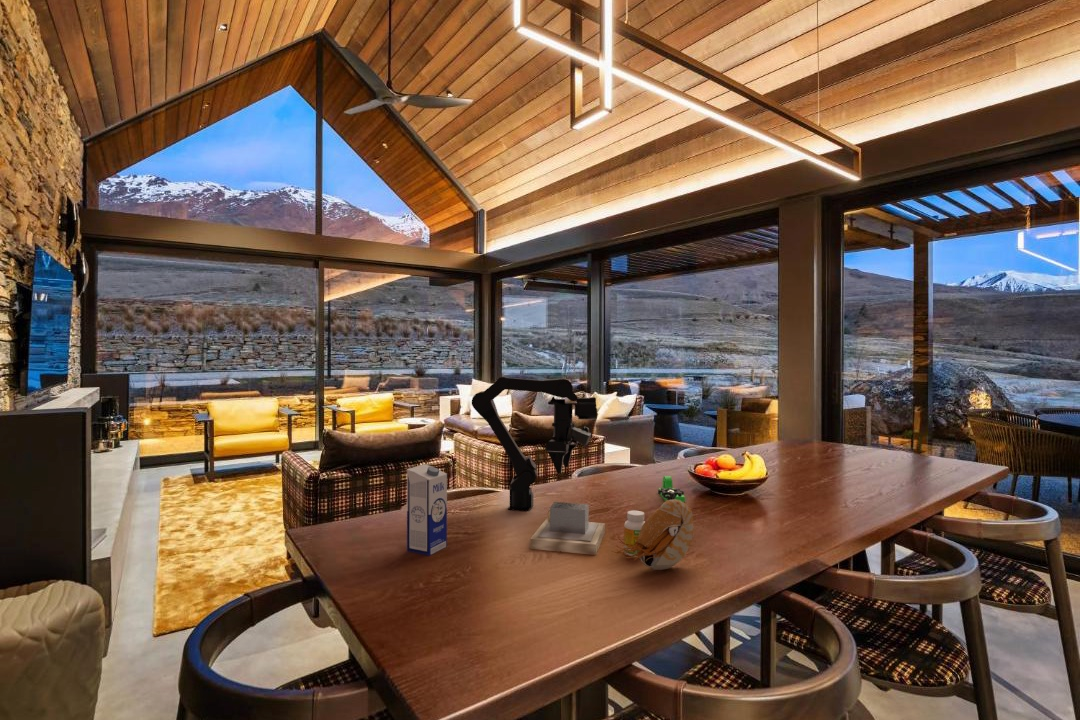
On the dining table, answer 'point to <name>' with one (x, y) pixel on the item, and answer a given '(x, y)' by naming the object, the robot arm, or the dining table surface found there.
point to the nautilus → (664, 536)
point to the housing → (569, 517)
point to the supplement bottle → (633, 529)
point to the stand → (568, 539)
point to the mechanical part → (668, 483)
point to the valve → (671, 493)
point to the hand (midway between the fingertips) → (562, 470)
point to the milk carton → (426, 510)
